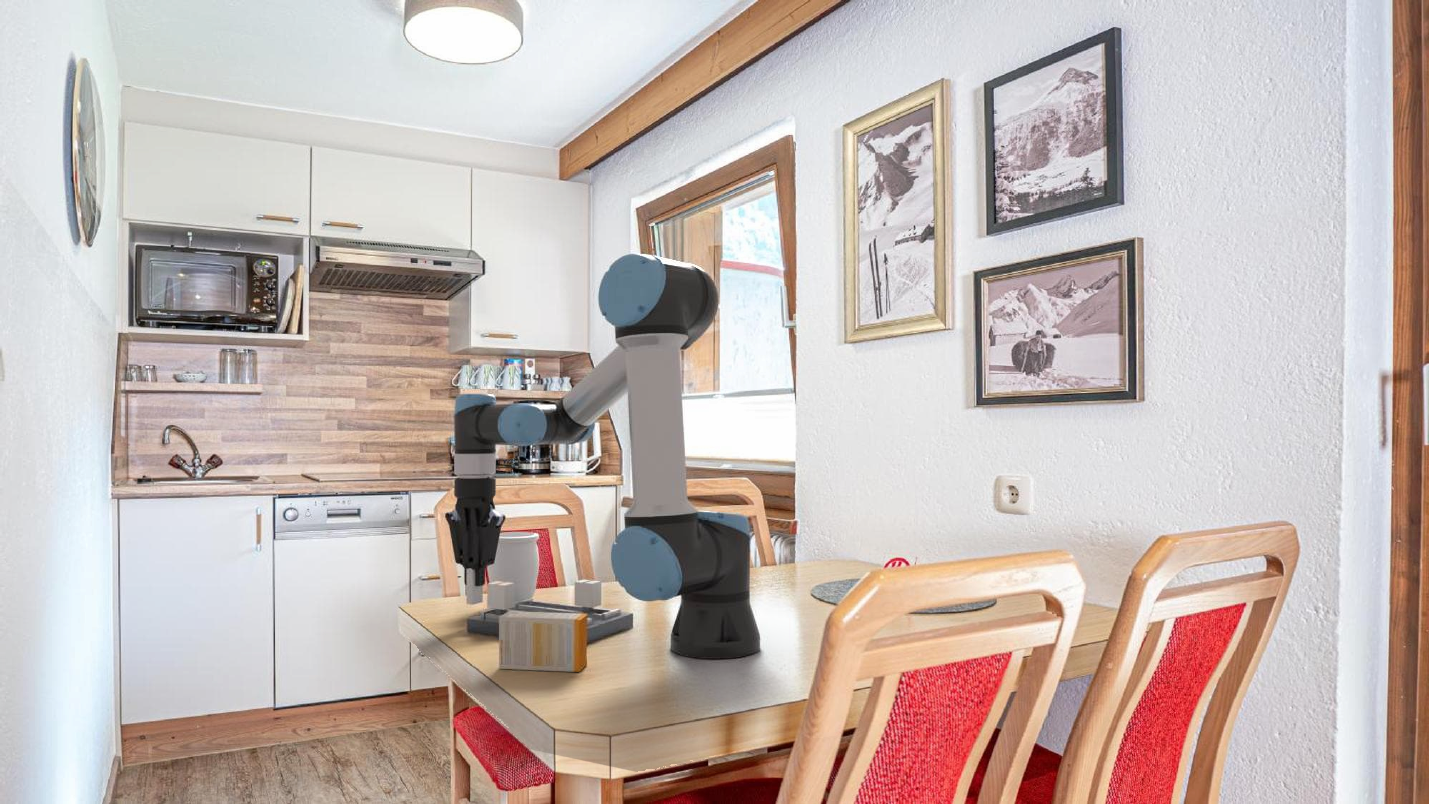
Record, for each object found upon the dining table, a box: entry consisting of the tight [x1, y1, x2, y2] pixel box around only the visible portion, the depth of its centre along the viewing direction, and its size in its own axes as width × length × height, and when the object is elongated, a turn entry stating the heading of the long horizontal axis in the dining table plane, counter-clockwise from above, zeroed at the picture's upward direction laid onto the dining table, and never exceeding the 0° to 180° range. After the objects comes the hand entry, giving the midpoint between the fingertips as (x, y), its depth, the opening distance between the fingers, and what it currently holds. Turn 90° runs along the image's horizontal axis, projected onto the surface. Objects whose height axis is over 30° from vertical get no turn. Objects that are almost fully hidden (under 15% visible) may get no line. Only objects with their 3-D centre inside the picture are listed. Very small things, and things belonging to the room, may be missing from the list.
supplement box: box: [498, 611, 588, 673], centre depth 145 cm, size 8×5×13 cm
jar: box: [486, 531, 540, 603], centre depth 191 cm, size 11×10×15 cm
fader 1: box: [486, 581, 515, 615], centre depth 171 cm, size 4×3×6 cm
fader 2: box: [574, 579, 602, 613], centre depth 173 cm, size 4×3×6 cm
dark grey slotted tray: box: [466, 598, 634, 644], centre depth 171 cm, size 24×18×4 cm
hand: (474, 602), depth 174 cm, fingers closed
